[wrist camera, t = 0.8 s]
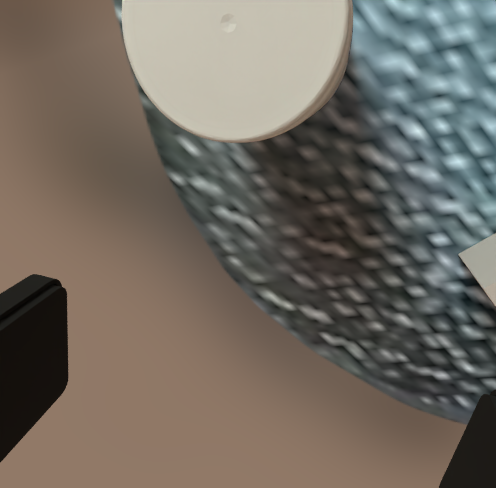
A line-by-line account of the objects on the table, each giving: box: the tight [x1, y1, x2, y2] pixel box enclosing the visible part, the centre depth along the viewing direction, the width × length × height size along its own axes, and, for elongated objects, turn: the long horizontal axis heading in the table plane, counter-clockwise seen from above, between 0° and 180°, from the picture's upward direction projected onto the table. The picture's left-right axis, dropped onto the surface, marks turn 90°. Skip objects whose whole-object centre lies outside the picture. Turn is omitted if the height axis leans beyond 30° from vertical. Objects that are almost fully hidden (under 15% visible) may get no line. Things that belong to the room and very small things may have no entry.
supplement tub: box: [122, 0, 353, 143], centre depth 23 cm, size 10×10×15 cm
